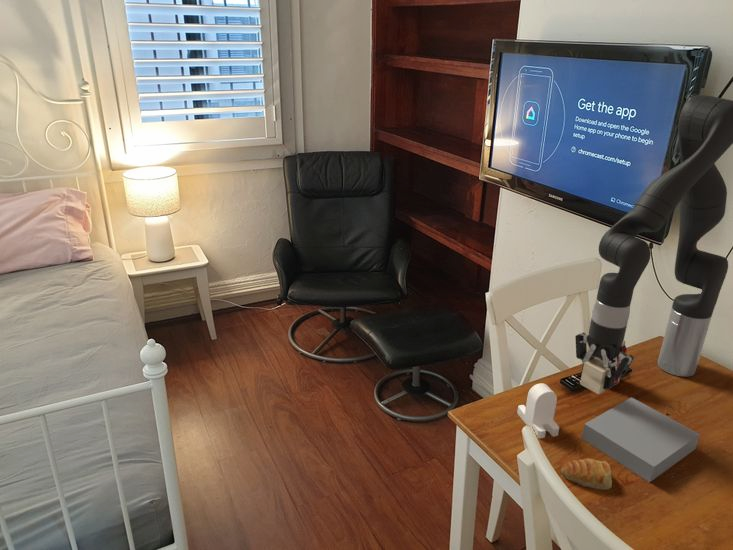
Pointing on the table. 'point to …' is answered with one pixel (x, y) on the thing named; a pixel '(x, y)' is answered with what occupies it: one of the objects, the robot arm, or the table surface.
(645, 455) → the base
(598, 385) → the ash block
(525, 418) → the cable organizer
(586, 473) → the pastry
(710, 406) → the table surface
